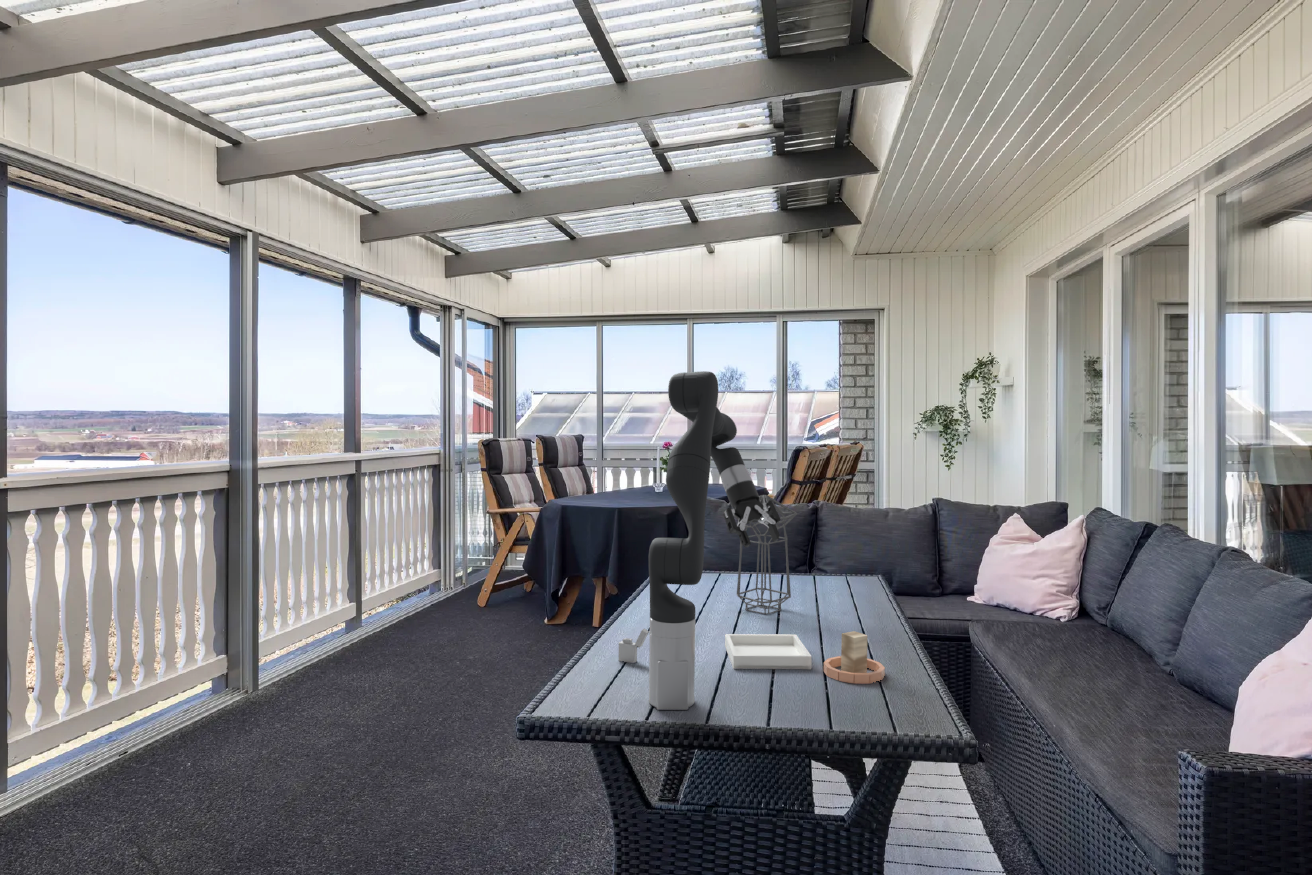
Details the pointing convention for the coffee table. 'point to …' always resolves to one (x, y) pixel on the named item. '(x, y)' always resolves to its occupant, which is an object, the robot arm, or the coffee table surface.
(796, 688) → the coffee table surface
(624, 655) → the lighter
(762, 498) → the geometric lantern
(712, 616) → the coffee table surface
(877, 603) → the coffee table surface
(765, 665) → the tray
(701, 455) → the robot arm
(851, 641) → the birch block
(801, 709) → the coffee table surface
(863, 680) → the orange ring
